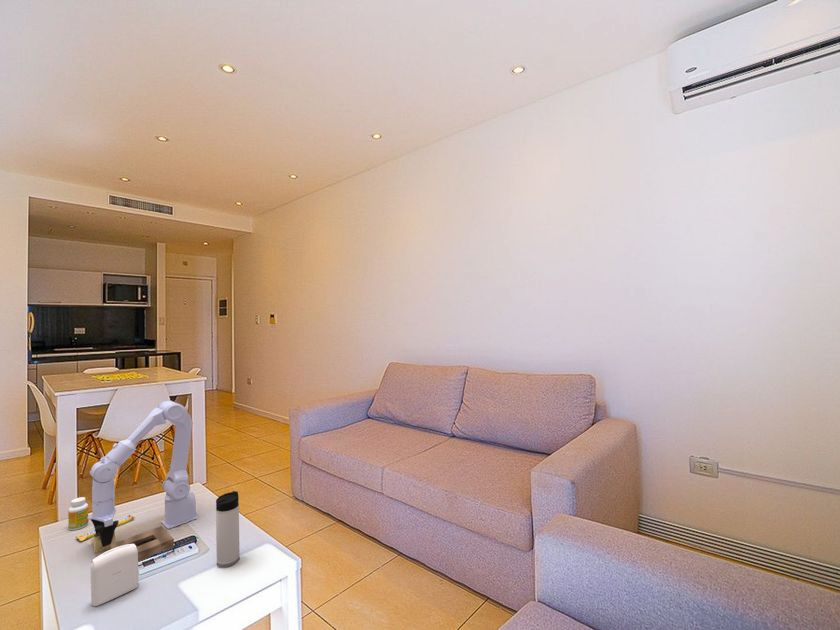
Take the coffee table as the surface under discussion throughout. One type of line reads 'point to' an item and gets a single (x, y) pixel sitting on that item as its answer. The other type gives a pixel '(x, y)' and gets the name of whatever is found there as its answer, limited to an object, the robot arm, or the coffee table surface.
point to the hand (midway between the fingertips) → (104, 540)
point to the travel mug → (227, 529)
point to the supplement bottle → (78, 514)
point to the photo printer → (114, 573)
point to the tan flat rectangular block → (98, 544)
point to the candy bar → (91, 533)
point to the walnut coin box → (148, 542)
